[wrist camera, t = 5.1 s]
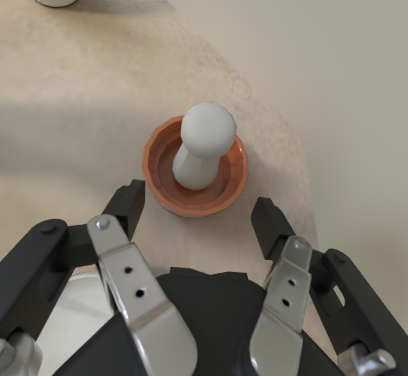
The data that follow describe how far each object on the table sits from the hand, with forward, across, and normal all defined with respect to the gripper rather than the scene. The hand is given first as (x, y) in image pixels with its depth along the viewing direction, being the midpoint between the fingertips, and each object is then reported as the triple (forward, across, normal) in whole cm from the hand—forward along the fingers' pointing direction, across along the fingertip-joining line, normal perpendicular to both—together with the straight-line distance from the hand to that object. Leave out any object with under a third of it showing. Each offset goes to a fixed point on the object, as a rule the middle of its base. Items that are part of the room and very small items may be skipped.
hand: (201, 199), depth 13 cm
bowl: (+13, 0, +5) cm, 14 cm away
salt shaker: (+12, 0, +5) cm, 13 cm away
